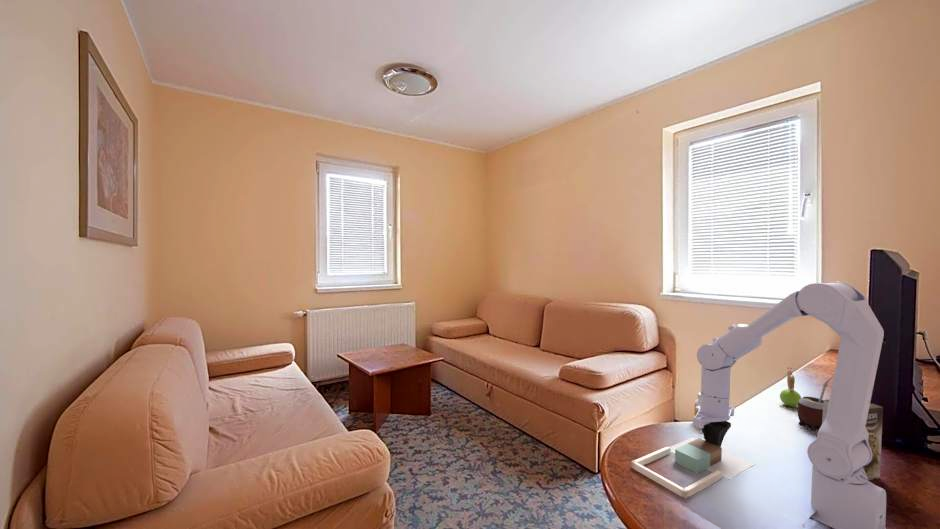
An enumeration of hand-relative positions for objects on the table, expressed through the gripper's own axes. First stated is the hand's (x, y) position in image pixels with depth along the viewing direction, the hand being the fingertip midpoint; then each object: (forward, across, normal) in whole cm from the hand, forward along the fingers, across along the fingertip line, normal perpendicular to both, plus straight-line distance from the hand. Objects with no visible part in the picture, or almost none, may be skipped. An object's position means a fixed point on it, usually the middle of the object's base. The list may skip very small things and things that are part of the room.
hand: (712, 450), depth 88 cm
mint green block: (+1, +9, 0) cm, 9 cm away
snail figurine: (+3, -58, -5) cm, 58 cm away
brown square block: (+1, +4, 0) cm, 4 cm away
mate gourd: (+3, -45, +5) cm, 45 cm away
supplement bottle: (+3, -16, -10) cm, 19 cm away
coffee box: (+3, -22, +18) cm, 29 cm away
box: (+2, +15, 0) cm, 16 cm away
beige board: (+2, +2, 0) cm, 3 cm away
